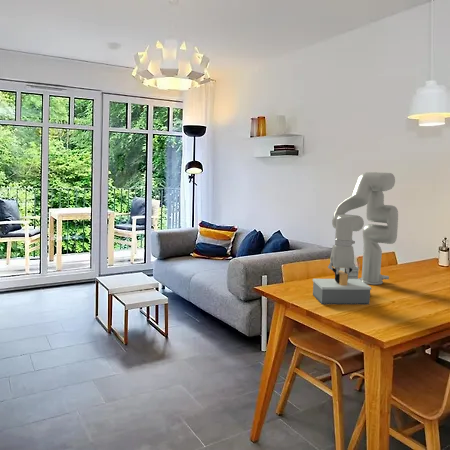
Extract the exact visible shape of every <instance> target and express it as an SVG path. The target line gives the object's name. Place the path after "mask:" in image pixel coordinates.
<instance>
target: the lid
mask: <svg viewBox="0 0 450 450" xmlns="http://www.w3.org/2000/svg"><path fill="white" fill-rule="evenodd" d="M339 275H340V276H339V283H337V282H336V281H335V278H312V282H315V283H316V284H317V285H318V286H319V287H320V288H321V289H334V290H370V291H371V290H372V287H371V286H370V284H365V283H364V282H362V281H361V280H359V278H358V279H348V274H346V273H345V272H344V271H342V270H340V269H339Z"/></svg>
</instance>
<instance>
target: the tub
mask: <svg viewBox="0 0 450 450" xmlns="http://www.w3.org/2000/svg"><path fill="white" fill-rule="evenodd" d="M312 282H313V281H312ZM312 284H313V285H312V296H313V297H314V298H315V299H316V300H317V302H319V303H320V304H321V305H370V301H371V300H370V299H371V290H334V289H321V288H320V287H319V286H318V285H317V284H316V283H315V282H313V283H312Z"/></svg>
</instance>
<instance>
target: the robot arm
mask: <svg viewBox="0 0 450 450" xmlns="http://www.w3.org/2000/svg"><path fill="white" fill-rule="evenodd" d="M395 183H396V177H395V175H394V173H392V172H376V171H375V172H371V171H370V172H368V171H367V172H362V173H361V174H360V175H359V176H358V178H357V180H356V182H355V185H354V188H353V191H352V193H351V195H350V197H347V198H345V200H343V201H342V202H341V203H339V204H338V206H337V207H336V209H335V211H334V214H333V216H332V221H331V223H332V227H333V228H334V229H335V235H334V236H335V237H334V245H332V248H331V253H330V261H329V262H330V263H329V264H328V266H327V268H328V269H329V270H330V271H332V272H333V273H334V279H335V281H336V282H337V283H339V276H340V275H339V270H340V268H345V273H346V274H349V273H350V272H351V271H352V270H354V269H356V266H357V265H356V264H355V252H354V251H355V250H354V246H353V245H354V244H355V243H356V241H355V240H353V232H359V231H361V230H362V239H363V240H362V241H363V243H362V244H363V250H362V251H363V252H362V265H361V266H362V269H361V277H358V279H359V280H361V281H362V282H364V283H365V284H367V285H372V286H373V285H374V286H376V285H382V284H383V283H384V281H383V280H389V279H390V275H385V274H381V272H382V271H381V269H382V255H383V251H382V248H381V245H380V244H387V245H393V244H396V241H397V240H398V239H397V238H398V227H399V226H398V225H399V211H398V208H397V207H396V206H395V205H392V204H385V194H384V193H383V192H387V191H389V190H392V189H393V188H394V186H395ZM365 206H366V219H367V220H368V221H369V222H371V224H365V225H364V223H365V222H364V219H363V217H361V216H360V215H355V214H346V213H348V212H350V211H351V210H355V209H359V208H362V207H365ZM374 223H375V224H374ZM376 223H381V224H376ZM383 224H386V225H383ZM355 265H356V266H355Z"/></svg>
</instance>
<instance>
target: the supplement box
mask: <svg viewBox="0 0 450 450" xmlns="http://www.w3.org/2000/svg"><path fill="white" fill-rule="evenodd" d="M355 266H356V269H354V270H352V271H351V272H350V273H349V274H348V279H359V269H360V268H359V266H357V265H356V264H355ZM339 270H342V271H344V272H345V268H339Z"/></svg>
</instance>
